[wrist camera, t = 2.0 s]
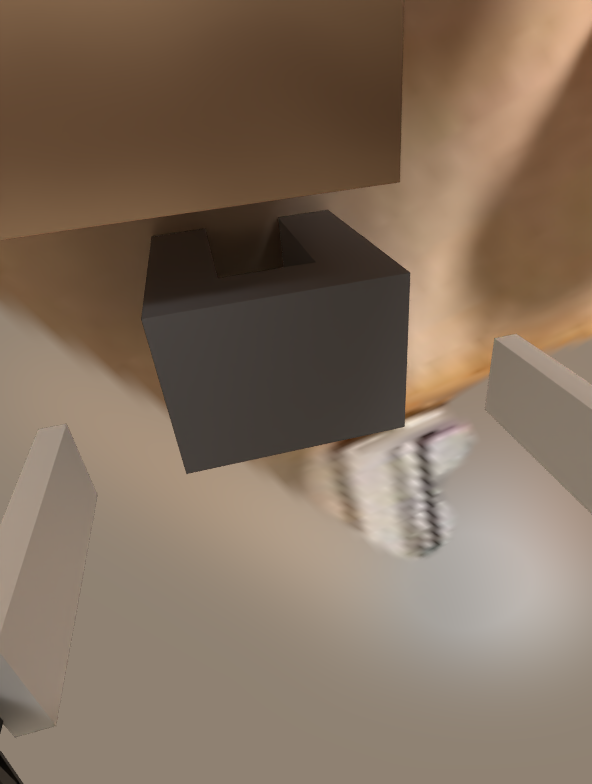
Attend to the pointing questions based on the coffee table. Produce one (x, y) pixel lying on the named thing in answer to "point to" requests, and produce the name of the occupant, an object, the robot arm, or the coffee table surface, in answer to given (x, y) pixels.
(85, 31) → the wooden block dumbbell
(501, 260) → the coffee table surface
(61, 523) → the robot arm
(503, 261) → the coffee table surface
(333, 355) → the slotted gray cube
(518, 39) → the coffee table surface
